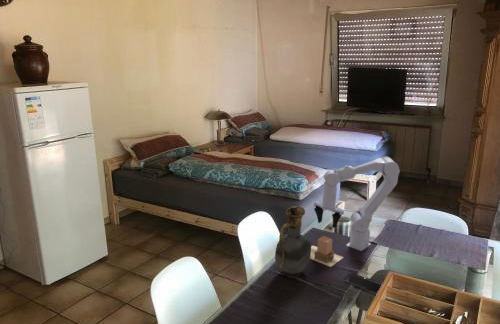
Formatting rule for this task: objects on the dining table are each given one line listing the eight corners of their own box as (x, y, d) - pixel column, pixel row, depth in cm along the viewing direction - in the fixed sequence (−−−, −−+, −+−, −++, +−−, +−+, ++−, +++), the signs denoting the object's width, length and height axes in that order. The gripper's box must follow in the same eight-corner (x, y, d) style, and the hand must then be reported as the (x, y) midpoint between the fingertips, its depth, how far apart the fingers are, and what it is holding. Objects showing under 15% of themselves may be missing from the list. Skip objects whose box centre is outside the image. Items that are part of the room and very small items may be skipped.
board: (312, 246, 187) (313, 245, 187) (343, 258, 177) (343, 257, 176) (299, 255, 179) (299, 254, 179) (330, 268, 169) (330, 266, 168)
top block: (322, 248, 178) (323, 235, 176) (331, 251, 175) (332, 239, 173) (317, 251, 175) (317, 239, 173) (326, 255, 172) (327, 242, 170)
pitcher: (312, 268, 168) (316, 201, 160) (291, 290, 153) (294, 217, 145) (289, 261, 174) (292, 195, 166) (266, 281, 159) (268, 210, 150)
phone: (350, 272, 164) (386, 284, 156) (349, 274, 165) (386, 287, 156) (342, 281, 158) (380, 294, 150) (342, 283, 159) (379, 296, 150)
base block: (321, 253, 180) (322, 247, 179) (333, 257, 176) (334, 251, 175) (314, 258, 175) (314, 252, 175) (326, 263, 171) (326, 256, 171)
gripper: (311, 195, 183) (308, 222, 187) (339, 203, 174) (336, 232, 178) (319, 191, 188) (317, 218, 192) (347, 199, 179) (344, 227, 183)
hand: (327, 224), depth 185 cm, fingers open, 7 cm apart
